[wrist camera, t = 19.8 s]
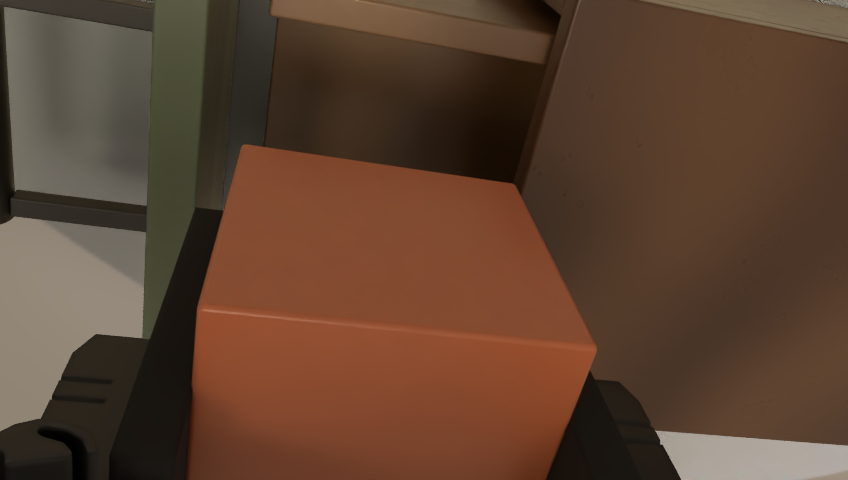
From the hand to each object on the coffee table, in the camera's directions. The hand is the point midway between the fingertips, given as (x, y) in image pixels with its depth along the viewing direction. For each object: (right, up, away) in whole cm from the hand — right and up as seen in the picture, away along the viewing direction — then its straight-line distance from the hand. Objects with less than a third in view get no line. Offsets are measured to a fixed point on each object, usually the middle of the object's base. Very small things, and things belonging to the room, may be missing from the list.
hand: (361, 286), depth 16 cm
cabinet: (+9, +5, +13) cm, 17 cm away
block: (0, 0, 0) cm, 0 cm away
